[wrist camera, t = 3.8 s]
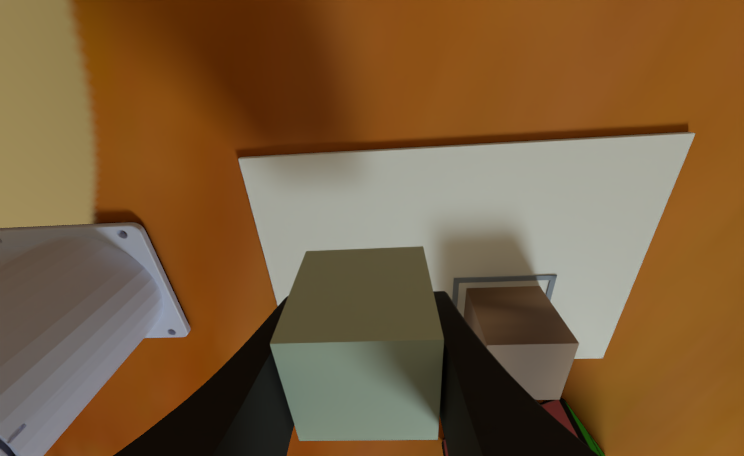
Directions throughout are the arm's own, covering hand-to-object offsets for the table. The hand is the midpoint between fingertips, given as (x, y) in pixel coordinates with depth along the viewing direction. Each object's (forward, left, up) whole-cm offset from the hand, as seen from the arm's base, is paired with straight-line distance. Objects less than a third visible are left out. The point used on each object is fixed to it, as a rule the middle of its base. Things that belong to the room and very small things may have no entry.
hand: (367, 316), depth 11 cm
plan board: (+4, -3, -6) cm, 8 cm away
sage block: (0, 0, -1) cm, 1 cm away
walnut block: (+7, -6, -6) cm, 11 cm away
